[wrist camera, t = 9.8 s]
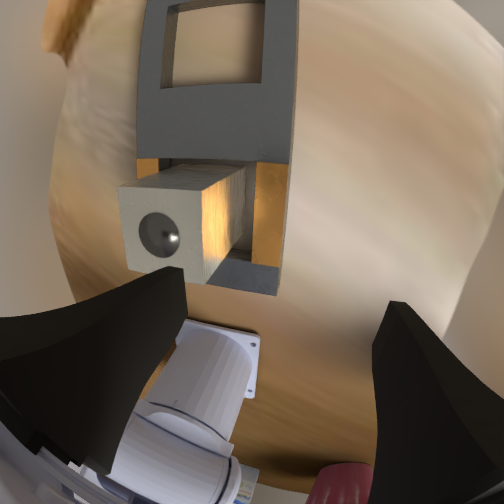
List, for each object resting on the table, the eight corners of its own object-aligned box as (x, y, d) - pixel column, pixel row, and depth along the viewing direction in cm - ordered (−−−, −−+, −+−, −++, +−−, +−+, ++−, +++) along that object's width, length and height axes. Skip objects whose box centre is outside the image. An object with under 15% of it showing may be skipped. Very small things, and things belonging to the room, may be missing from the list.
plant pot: (381, 449, 28) (378, 524, 17) (390, 472, 32) (387, 529, 21) (292, 461, 33) (276, 528, 22) (318, 482, 37) (308, 535, 26)
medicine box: (244, 475, 41) (233, 508, 34) (224, 468, 41) (211, 502, 34) (260, 469, 38) (249, 507, 30) (238, 461, 38) (225, 500, 30)
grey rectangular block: (243, 231, 19) (203, 286, 12) (185, 223, 19) (127, 269, 13) (246, 166, 17) (200, 191, 10) (183, 163, 18) (116, 187, 11)
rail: (279, 284, 20) (276, 297, 18) (157, 263, 22) (147, 272, 20) (299, -22, 10) (296, -34, 9) (160, -6, 12) (148, -12, 10)
